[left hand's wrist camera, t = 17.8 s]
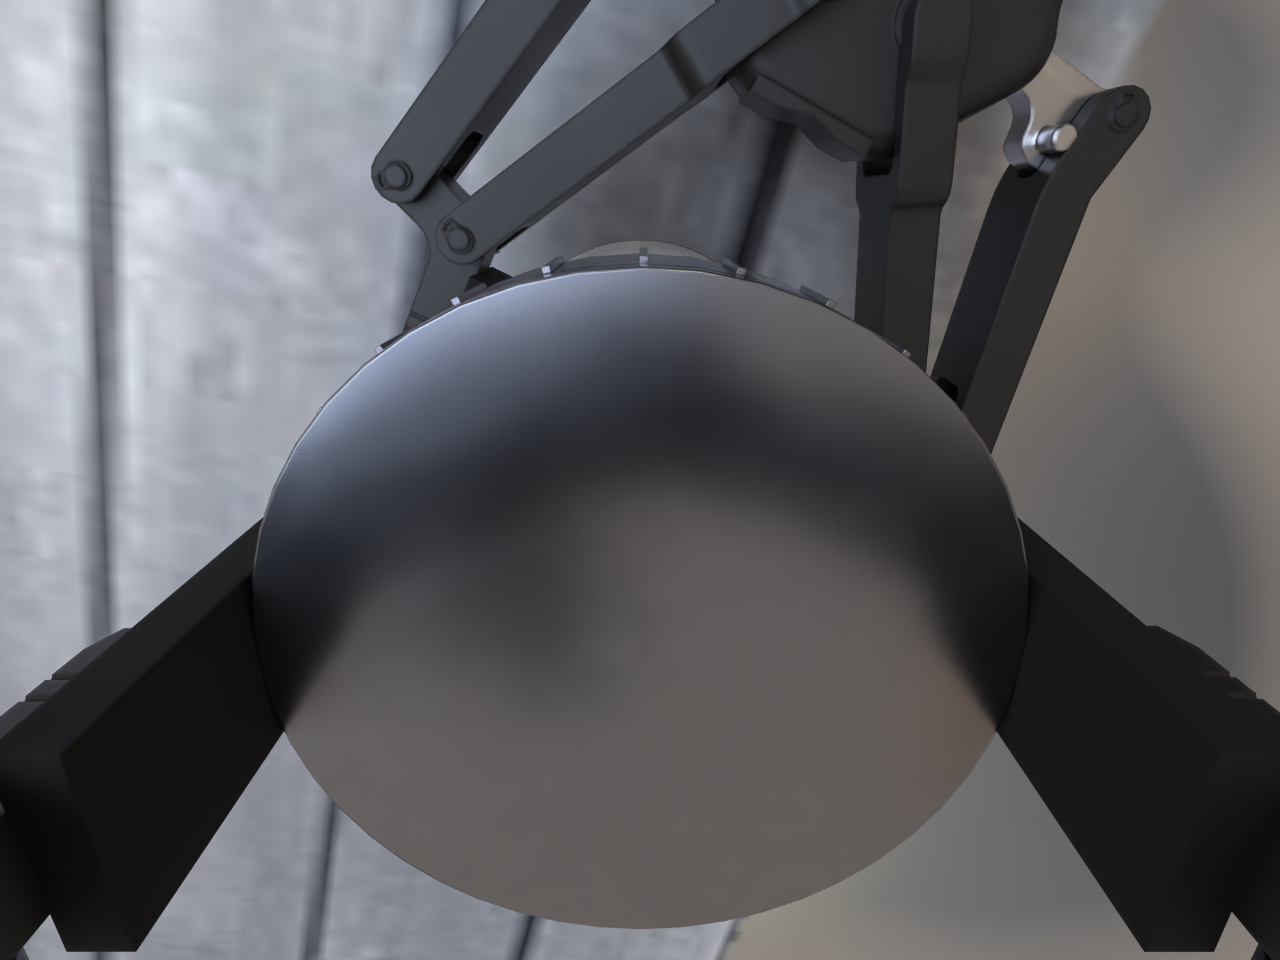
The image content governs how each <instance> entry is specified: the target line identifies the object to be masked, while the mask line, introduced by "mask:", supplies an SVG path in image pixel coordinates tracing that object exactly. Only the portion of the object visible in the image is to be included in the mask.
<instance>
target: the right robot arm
mask: <svg viewBox="0 0 1280 960" xmlns="http://www.w3.org/2000/svg"><path fill="white" fill-rule="evenodd" d="M590 1H591V0H485V2H484V3H483V5H482V6H481V8H480V9H479V10H478V12H477V13H476V15H475V16H474V17H473V19H472V20H471V22H470V23H469V25H468V26H467V27H466V29H465V30H464V32H463V33H462V35H461V36H460V37H459V39H458V40H457V42H456V43H455V45H454V46H453V47H452V49H451V50H450V52H449V53H448V55H447V56H446V57H445V59H444V60H443V62H442V63H441V64H440V66H439V67H438V69H437V70H436V72H435V73H434V74H433V76H432V77H431V79H430V80H429V82H428V83H427V84H426V86H425V87H424V89H423V90H422V92H421V93H420V94H419V96H418V97H417V99H416V100H415V102H414V103H413V104H412V106H411V107H410V109H409V110H408V111H407V113H406V114H405V116H404V117H403V119H402V120H401V121H400V123H399V124H398V126H397V127H396V129H395V130H394V131H393V133H392V134H391V136H390V137H389V139H388V140H387V141H386V143H385V144H384V146H383V147H382V149H381V150H380V151H379V153H378V154H377V156H376V157H375V160H374V162H373V164H372V171H371V178H372V180H373V183H374V186H375V188H376V190H377V191H378V192H379V193H380V195H381V196H382V197H383V198H385V199H387V200H388V201H390V202H393V203H396V204H397V205H398V206H399V207H400V208H401V209H402V210H403V211H404V212H405V213H406V214H407V215H408V216H409V217H410V218H411V219H412V220H413V221H414V222H415V223H416V224H417V225H418V226H419V227H420V229H421V230H422V231H423V232H424V234H425V236H426V238H427V241H428V245H429V260H428V264H427V267H426V269H425V272H424V275H423V278H422V280H421V283H420V286H419V288H418V291H417V294H416V297H415V299H414V302H413V305H412V307H411V310H410V314H409V316H408V318H407V321H406V324H405V328H404V329H403V332H404V331H406V330H408V329H410V328H412V327H413V326H415V325H420V324H422V323H424V322H425V321H427V320H429V319H431V318H432V317H434V316H436V315H438V314H440V313H441V312H443V311H445V310H447V309H448V308H450V307H452V306H454V305H453V304H452V302H451V299H453V298H455V297H457V296H458V295H460V294H462V293H464V292H466V291H468V290H470V289H472V288H474V287H476V286H478V285H480V284H482V283H485V285H486V287H487V288H488V287H490V286H491V285H493V284H495V283H498V282H501V281H504V280H506V279H509V278H512V276H510V275H508V274H506V273H504V272H502V271H500V270H497V269H495V268H493V267H490V264H491V262H492V259H493V257H494V254H496V253H499V252H500V251H499V250H501V249H502V248H503V247H505V246H506V245H507V244H509V243H510V242H511V241H513V240H514V239H515V238H517V237H518V236H519V235H521V234H522V233H523V232H525V231H526V230H527V229H529V228H530V227H531V226H533V225H534V224H535V223H537V222H538V221H540V220H541V219H542V218H544V217H545V216H546V215H548V214H549V213H550V212H552V211H553V210H554V209H556V208H557V207H558V206H560V205H561V204H562V203H564V202H565V201H566V200H568V199H569V198H570V197H572V196H573V195H574V194H576V193H577V192H578V191H580V190H581V189H582V188H584V187H585V186H587V185H588V184H589V183H591V182H592V181H593V180H595V179H596V178H597V177H599V176H600V175H601V174H603V173H604V172H605V171H607V170H608V169H609V168H611V167H612V166H613V165H615V164H616V163H617V162H619V161H620V160H621V159H623V158H624V157H625V156H627V155H628V154H630V153H631V152H632V151H634V150H635V149H636V148H638V147H639V146H640V145H642V144H643V143H644V142H646V141H647V140H648V139H650V138H651V137H652V136H654V135H655V134H656V133H658V132H659V131H660V130H662V129H663V128H664V127H666V126H667V125H668V124H670V123H671V122H673V121H674V120H675V119H677V118H678V117H679V116H681V115H682V114H683V113H685V112H686V111H688V110H690V109H691V108H693V107H694V106H696V105H697V104H698V103H700V102H701V101H703V100H704V99H705V98H707V97H708V96H709V95H711V94H712V93H713V92H715V91H716V90H717V89H719V88H720V87H721V86H723V85H724V84H725V83H727V82H728V81H729V83H730V85H731V86H732V88H733V89H734V90H735V92H736V93H737V94H738V95H739V96H740V100H739V102H738V103H740V104H742V105H744V106H745V107H747V108H749V109H751V110H752V111H754V112H756V113H758V114H759V115H761V116H763V117H765V118H769V119H774V120H778V121H782V122H787V123H791V124H794V125H796V126H797V127H798V128H799V129H800V130H801V131H802V132H803V133H804V134H805V135H806V136H807V137H808V138H809V139H810V140H811V141H812V142H813V143H814V145H815V146H816V147H817V148H819V149H820V150H822V151H824V152H826V153H827V154H829V155H831V156H833V157H834V158H836V159H838V160H840V161H841V162H846V161H857V178H856V200H857V204H858V207H859V211H860V223H859V242H858V261H857V280H856V299H855V318H854V321H855V322H857V323H859V324H861V325H862V326H864V327H866V328H868V329H870V330H872V331H874V332H876V333H877V334H879V335H881V336H883V337H885V338H886V339H888V340H890V341H892V342H893V343H895V344H897V345H899V346H901V347H902V348H904V349H906V350H907V351H908V352H909V353H911V356H910V357H909V359H911V360H912V361H913V362H915V363H916V364H917V365H918V366H919V367H920V368H921V369H922V370H923V371H924V372H925V373H926V365H927V354H928V344H929V333H930V322H931V311H932V300H933V289H934V279H935V268H936V257H937V246H938V235H939V224H940V215H941V211H942V208H943V206H944V204H945V203H946V201H947V200H948V198H949V195H950V192H951V186H952V179H953V169H954V158H955V148H956V137H957V127H958V123H960V122H962V121H964V120H966V119H967V118H969V117H971V116H973V115H975V114H977V113H979V112H980V111H982V110H984V109H986V108H988V107H990V106H991V105H993V104H995V103H997V102H999V101H1001V100H1003V99H1004V98H1006V99H1007V100H1008V101H1009V103H1010V106H1011V108H1012V114H1013V119H1012V125H1011V127H1010V130H1009V132H1008V135H1007V137H1006V140H1005V141H1004V145H1003V150H1004V153H1005V156H1006V158H1007V160H1008V162H1009V163H1010V165H1009V166H1008V168H1007V169H1006V171H1005V173H1004V174H1003V176H1002V178H1001V180H1000V182H999V184H998V186H997V188H996V190H995V192H994V195H993V197H992V200H991V202H990V205H989V207H988V210H987V213H986V215H985V218H984V221H983V224H982V227H981V230H980V233H979V236H978V239H977V242H976V245H975V248H974V251H973V254H972V257H971V259H970V262H969V265H968V268H967V271H966V274H965V277H964V280H963V283H962V286H961V289H960V292H959V295H958V298H957V301H956V303H955V306H954V309H953V312H952V315H951V318H950V321H949V324H948V327H947V330H946V333H945V336H944V339H943V342H942V345H941V347H940V350H939V353H938V356H937V359H936V362H935V365H934V368H933V371H932V374H931V377H930V378H931V379H932V380H933V381H934V382H935V383H936V384H937V385H938V386H939V387H940V388H941V389H942V390H943V391H944V392H945V393H946V394H947V395H948V396H949V397H950V398H951V399H952V400H953V401H954V402H955V403H956V405H957V406H958V407H959V409H960V410H961V411H962V412H964V413H965V415H966V416H967V420H968V421H969V422H970V424H971V425H972V426H973V428H974V429H975V430H976V432H977V433H978V434H979V436H980V437H981V439H982V440H983V441H984V443H985V445H986V447H987V449H988V450H989V452H990V454H991V453H992V451H993V448H994V445H995V443H996V440H997V438H998V435H999V433H1000V430H1001V427H1002V425H1003V422H1004V420H1005V417H1006V415H1007V412H1008V409H1009V407H1010V404H1011V402H1012V399H1013V397H1014V394H1015V391H1016V389H1017V386H1018V384H1019V381H1020V378H1021V376H1022V373H1023V371H1024V368H1025V366H1026V363H1027V361H1028V358H1029V355H1030V353H1031V350H1032V348H1033V345H1034V343H1035V340H1036V338H1037V335H1038V332H1039V330H1040V327H1041V325H1042V322H1043V319H1044V317H1045V314H1046V312H1047V309H1048V307H1049V304H1050V302H1051V299H1052V296H1053V294H1054V291H1055V289H1056V286H1057V284H1058V281H1059V278H1060V276H1061V273H1062V271H1063V268H1064V266H1065V263H1066V260H1067V258H1068V255H1069V253H1070V250H1071V248H1072V245H1073V243H1074V240H1075V237H1076V235H1077V232H1078V230H1079V227H1080V224H1081V222H1082V219H1083V217H1084V214H1085V212H1086V209H1087V206H1088V204H1089V201H1090V199H1091V197H1092V196H1093V195H1094V193H1095V192H1096V191H1097V189H1098V188H1099V187H1100V186H1101V184H1102V183H1103V182H1104V180H1105V179H1106V178H1107V176H1108V175H1109V174H1110V172H1111V171H1112V170H1113V168H1114V167H1115V166H1116V165H1117V163H1118V162H1119V161H1120V159H1121V158H1122V157H1123V155H1124V154H1125V153H1126V151H1127V150H1128V149H1129V148H1130V146H1131V145H1132V144H1133V142H1134V141H1135V140H1136V138H1137V137H1138V136H1139V134H1140V133H1141V132H1142V131H1143V129H1144V127H1145V125H1146V123H1147V122H1148V120H1149V116H1150V110H1151V105H1150V100H1149V96H1148V95H1147V94H1146V93H1145V91H1144V90H1143V89H1142V88H1139V87H1137V86H1135V85H1129V86H1121V87H1116V88H1112V89H1108V90H1105V89H1103V88H1101V87H1099V86H1098V85H1097V84H1096V83H1094V82H1093V81H1092V80H1090V79H1089V78H1088V77H1086V76H1085V75H1084V74H1083V73H1081V72H1080V71H1079V70H1077V69H1076V68H1075V67H1074V66H1072V65H1071V64H1070V63H1068V62H1067V61H1066V60H1065V59H1063V58H1062V57H1061V56H1059V55H1058V54H1057V53H1055V52H1054V51H1053V50H1052V49H1053V47H1054V43H1055V39H1056V34H1057V25H1058V18H1059V13H1060V8H1061V5H1062V1H1063V0H715V3H714V4H713V5H712V6H710V7H709V8H708V9H707V10H705V11H704V12H703V13H701V14H700V15H699V16H697V17H696V18H695V19H694V20H692V21H691V22H690V23H688V24H687V25H686V26H685V27H683V28H682V29H681V30H680V31H678V32H677V33H676V34H675V35H674V36H673V37H672V38H671V39H670V40H669V41H668V42H667V43H666V44H665V45H664V46H663V47H662V48H661V49H660V50H659V51H658V52H656V53H655V54H654V55H653V56H651V57H650V58H649V59H647V60H646V61H645V62H643V63H642V64H641V65H640V66H638V67H637V68H636V69H634V70H633V71H632V72H631V73H629V74H628V75H627V76H625V77H624V78H623V79H621V80H620V81H619V82H618V83H616V84H615V85H614V86H612V87H611V88H610V89H609V90H607V91H606V92H605V93H603V94H602V95H601V96H599V97H598V98H597V99H596V100H594V101H593V102H592V103H590V104H589V105H588V106H587V107H585V108H584V109H583V110H581V111H580V112H579V113H577V114H576V115H575V116H574V117H572V118H571V119H570V120H568V121H567V122H566V123H565V124H563V125H562V126H561V127H559V128H558V129H557V130H555V131H554V132H553V133H552V134H550V135H549V136H548V137H546V138H545V139H544V140H543V141H541V142H540V143H539V144H537V145H536V146H535V147H533V148H532V149H531V150H530V151H528V152H527V153H526V154H524V155H523V156H522V157H521V158H519V159H518V160H517V161H515V162H514V163H513V164H512V165H510V166H509V167H508V168H506V169H505V170H504V171H502V172H501V173H500V174H499V175H497V176H496V177H495V178H493V179H492V180H491V181H490V182H488V183H487V184H486V185H484V186H483V187H482V188H480V189H479V190H478V191H477V192H475V193H474V194H473V195H471V196H470V195H469V194H468V193H467V192H466V191H465V190H464V189H463V188H462V187H461V186H460V185H459V184H458V183H457V182H456V180H457V179H458V177H459V176H460V175H461V173H462V172H463V171H464V169H465V168H466V167H467V165H468V164H469V163H470V161H471V160H472V159H473V157H474V156H475V155H476V153H477V152H478V151H479V149H480V148H481V147H482V145H483V144H484V143H485V141H486V140H487V139H488V137H489V136H490V135H491V133H492V132H493V131H494V129H495V128H496V127H497V125H498V124H499V123H500V121H501V120H502V119H503V117H504V116H505V115H506V113H507V112H508V111H509V109H510V108H511V107H512V105H513V104H514V103H515V101H516V100H517V99H518V97H519V96H520V95H521V93H522V92H523V91H524V89H525V88H526V86H527V85H528V84H529V82H530V81H531V80H532V78H533V77H534V76H535V74H536V73H537V72H538V70H539V69H540V68H541V66H542V65H543V64H544V62H545V61H546V60H547V58H548V57H549V56H550V54H551V53H552V52H553V50H554V49H555V48H556V46H557V45H558V44H559V42H560V41H561V40H562V38H563V37H564V36H565V34H566V33H567V32H568V30H569V29H570V28H571V26H572V25H573V24H574V22H575V21H576V20H577V18H578V17H579V16H580V14H581V13H582V12H583V10H584V9H585V8H586V6H587V5H588V4H589V2H590ZM489 267H490V268H489ZM403 332H402V333H403Z"/></svg>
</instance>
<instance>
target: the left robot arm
mask: <svg viewBox="0 0 1280 960" xmlns="http://www.w3.org/2000/svg"><path fill="white" fill-rule="evenodd" d="M1017 519H1018V522H1019V525H1020V528H1021V531H1022V537H1023V543H1024V550H1025V556H1026V563H1027V569H1028V576H1029V622H1028V628H1027V634H1026V641H1025V647H1024V652H1023V657H1022V661H1021V666H1020V670H1019V673H1018V677H1017V681H1016V684H1015V687H1014V690H1013V693H1012V696H1011V699H1010V703H1009V705H1008V707H1007V709H1006V712H1005V714H1004V716H1003V718H1002V720H1001V722H1000V724H999V726H998V728H997V730H996V731H997V732H998V734H999V735H1000V737H1001V738H1002V740H1003V741H1004V743H1005V744H1006V746H1007V747H1008V749H1009V750H1010V752H1011V753H1012V755H1013V756H1014V758H1015V759H1016V761H1017V762H1018V764H1019V765H1020V767H1021V768H1022V770H1023V771H1024V773H1025V774H1026V776H1027V777H1028V779H1029V780H1030V782H1031V783H1032V785H1033V786H1034V788H1035V789H1036V791H1037V792H1038V794H1039V795H1040V797H1041V798H1042V800H1043V801H1044V802H1045V804H1046V806H1047V807H1048V809H1049V810H1050V811H1051V813H1052V815H1053V816H1054V818H1055V819H1056V820H1057V822H1058V823H1059V825H1060V827H1061V828H1062V829H1063V831H1064V832H1065V834H1066V835H1067V837H1068V838H1069V840H1070V841H1071V843H1072V844H1073V846H1074V847H1075V849H1076V850H1077V852H1078V853H1079V855H1080V856H1081V858H1082V859H1083V861H1084V862H1085V864H1086V865H1087V867H1088V868H1089V870H1090V871H1091V873H1092V874H1093V876H1094V877H1095V879H1096V880H1097V882H1098V883H1099V885H1100V886H1101V888H1102V889H1103V891H1104V892H1105V894H1106V895H1107V897H1108V898H1109V900H1110V901H1111V903H1112V904H1113V906H1114V907H1115V909H1116V910H1117V911H1118V913H1119V914H1120V916H1121V918H1122V919H1123V921H1124V922H1125V923H1126V925H1127V926H1128V928H1129V929H1130V931H1131V932H1132V934H1133V935H1134V937H1135V938H1136V940H1137V941H1138V943H1139V944H1140V946H1141V947H1142V949H1143V950H1144V952H1214V950H1215V948H1216V946H1217V944H1218V941H1219V939H1220V937H1221V934H1222V932H1223V930H1224V928H1225V925H1226V923H1227V921H1228V919H1229V916H1230V914H1231V912H1233V913H1234V915H1235V916H1236V917H1237V918H1238V919H1239V921H1240V922H1241V923H1242V924H1243V925H1244V927H1245V928H1246V929H1247V930H1248V932H1249V933H1250V934H1251V935H1252V936H1253V938H1254V939H1255V940H1256V941H1257V942H1258V946H1257V948H1256V950H1255V952H1254V954H1253V956H1252V958H1251V960H1280V712H1278V711H1277V710H1276V709H1275V708H1273V707H1272V706H1271V705H1270V704H1268V703H1267V702H1266V701H1265V700H1263V699H1257V698H1256V693H1255V692H1253V691H1252V690H1251V689H1250V688H1248V687H1247V686H1246V685H1245V684H1243V683H1242V682H1241V681H1240V680H1238V679H1237V678H1236V677H1230V675H1229V674H1230V673H1229V671H1227V670H1226V669H1225V668H1224V667H1222V666H1221V665H1220V664H1218V663H1217V662H1216V661H1215V660H1214V659H1212V658H1211V657H1210V656H1209V655H1207V654H1206V653H1205V652H1204V651H1202V650H1201V649H1200V648H1199V647H1197V646H1195V645H1193V644H1191V643H1189V642H1187V641H1185V640H1183V639H1181V638H1180V637H1178V636H1176V635H1174V634H1172V633H1170V632H1168V631H1166V630H1164V629H1162V628H1160V627H1158V626H1146V625H1145V624H1143V623H1142V622H1141V621H1140V620H1139V619H1137V618H1136V617H1135V616H1134V615H1133V614H1132V613H1130V612H1129V611H1128V610H1127V609H1126V608H1124V607H1123V606H1122V605H1121V604H1120V603H1118V602H1117V601H1116V600H1115V599H1114V598H1113V597H1111V596H1110V595H1109V594H1108V593H1107V592H1105V591H1104V590H1103V589H1102V588H1101V587H1099V586H1098V585H1097V584H1096V583H1095V582H1094V581H1092V580H1091V579H1090V578H1089V577H1087V576H1086V575H1085V574H1084V573H1083V572H1082V571H1080V570H1079V569H1078V568H1077V567H1076V566H1075V565H1073V564H1072V563H1071V562H1070V561H1069V560H1067V559H1066V558H1065V557H1064V556H1063V555H1061V554H1060V553H1059V552H1058V551H1057V550H1056V549H1054V548H1053V547H1052V546H1051V545H1050V544H1048V543H1047V542H1046V541H1045V540H1044V539H1042V538H1041V537H1040V536H1039V535H1038V534H1037V533H1035V532H1034V531H1033V530H1032V529H1031V528H1029V527H1028V526H1027V525H1026V524H1025V523H1023V522H1022V521H1021V520H1020V519H1019V518H1018V517H1017ZM262 521H263V518H262V519H261V520H259V521H258V522H257V523H256V524H255V525H253V526H252V527H251V528H250V529H249V530H247V531H246V532H245V533H244V534H243V535H242V536H240V537H239V538H238V539H237V540H236V541H234V542H233V543H232V544H231V545H230V546H228V547H227V548H226V549H225V550H224V551H223V552H221V553H220V554H219V555H218V556H217V557H215V558H214V559H213V560H212V561H211V562H209V563H208V564H207V565H206V566H205V567H204V568H202V569H201V570H200V571H199V572H198V573H196V574H195V575H194V576H193V577H192V578H191V579H189V580H188V581H187V582H186V583H185V584H183V585H182V586H181V587H180V588H179V589H177V590H176V591H175V592H174V593H173V594H172V595H170V596H169V597H168V598H167V599H166V600H164V601H163V602H162V603H161V604H160V605H158V606H157V607H156V608H155V609H154V610H153V611H151V612H150V613H149V614H148V615H147V616H145V617H144V618H143V619H142V620H141V621H139V622H138V623H137V624H136V625H135V626H134V627H132V628H124V629H122V630H120V631H118V632H116V633H114V634H112V635H110V636H108V637H107V638H105V639H103V640H101V641H99V642H97V643H95V644H93V645H91V646H89V647H87V648H85V649H84V650H82V651H81V652H80V653H79V654H77V655H76V656H75V657H74V658H72V659H71V660H70V661H69V662H67V663H66V664H65V665H64V666H62V667H61V668H60V669H59V670H57V671H56V672H55V673H54V674H53V675H52V679H51V680H45V681H44V682H43V683H41V684H40V685H39V686H38V687H36V688H35V689H34V690H33V691H31V692H30V693H29V694H28V695H27V696H26V699H25V701H24V702H18V703H17V704H15V705H14V706H13V707H12V708H10V709H9V710H8V711H7V712H5V713H4V714H3V715H2V716H1V717H0V960H29V958H28V956H27V954H26V952H25V950H24V948H23V946H24V945H25V944H26V942H27V941H28V940H29V939H30V938H31V936H32V935H33V934H34V933H35V932H36V930H37V929H38V928H39V927H40V925H41V924H42V923H43V922H44V921H45V919H46V918H47V917H48V916H49V915H51V917H52V919H53V922H54V924H55V926H56V929H57V931H58V933H59V935H60V938H61V940H62V942H63V944H64V947H65V949H66V951H67V952H136V951H137V950H138V948H139V947H140V945H141V944H142V942H143V941H144V939H145V938H146V936H147V935H148V933H149V932H150V930H151V929H152V927H153V926H154V924H155V923H156V921H157V920H158V918H159V917H160V915H161V914H162V912H163V911H164V909H165V908H166V906H167V905H168V903H169V902H170V900H171V899H172V897H173V896H174V894H175V893H176V891H177V890H178V888H179V887H180V885H181V884H182V882H183V881H184V879H185V878H186V876H187V875H188V873H189V872H190V870H191V869H192V867H193V866H194V864H195V863H196V861H197V860H198V859H199V857H200V856H201V854H202V853H203V851H204V850H205V848H206V847H207V845H208V844H209V842H210V841H211V839H212V838H213V836H214V835H215V833H216V832H217V830H218V829H219V827H220V826H221V824H222V823H223V821H224V820H225V818H226V817H227V815H228V814H229V812H230V811H231V809H232V808H233V806H234V805H235V803H236V802H237V800H238V799H239V797H240V796H241V794H242V793H243V791H244V790H245V788H246V787H247V785H248V784H249V782H250V781H251V779H252V778H253V776H254V775H255V773H256V772H257V770H258V769H259V767H260V766H261V765H262V763H263V762H264V760H265V759H266V757H267V756H268V754H269V753H270V751H271V750H272V748H273V747H274V745H275V744H276V742H277V741H278V739H279V738H280V736H281V735H282V733H283V732H284V729H283V727H282V725H281V723H280V721H279V718H278V716H277V714H276V712H275V710H274V708H273V706H272V704H271V700H270V697H269V694H268V691H267V688H266V685H265V682H264V679H263V675H262V671H261V667H260V663H259V658H258V654H257V649H256V643H255V637H254V631H253V624H252V573H253V567H254V560H255V554H256V547H257V541H258V534H259V530H260V527H261V524H262Z"/></svg>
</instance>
